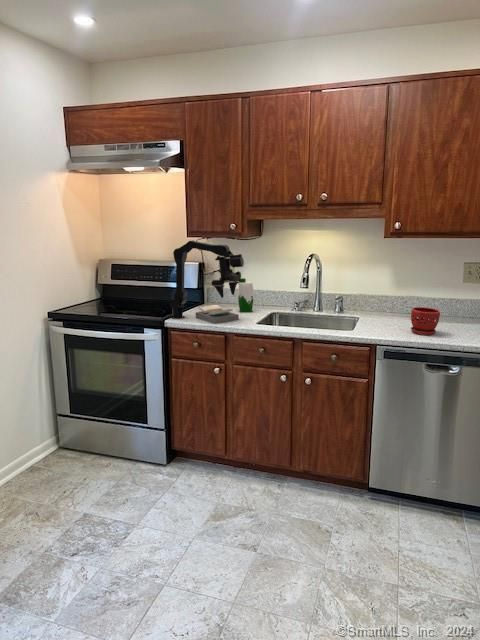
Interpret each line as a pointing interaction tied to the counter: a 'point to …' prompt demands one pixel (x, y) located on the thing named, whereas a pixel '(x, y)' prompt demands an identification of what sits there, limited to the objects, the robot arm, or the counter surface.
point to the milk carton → (245, 295)
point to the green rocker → (220, 312)
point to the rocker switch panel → (217, 317)
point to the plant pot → (424, 320)
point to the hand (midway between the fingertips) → (227, 296)
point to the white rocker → (210, 308)
